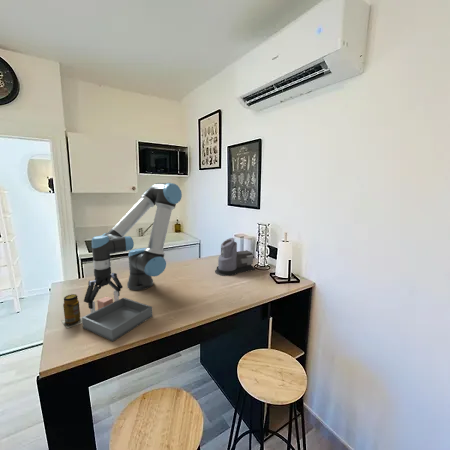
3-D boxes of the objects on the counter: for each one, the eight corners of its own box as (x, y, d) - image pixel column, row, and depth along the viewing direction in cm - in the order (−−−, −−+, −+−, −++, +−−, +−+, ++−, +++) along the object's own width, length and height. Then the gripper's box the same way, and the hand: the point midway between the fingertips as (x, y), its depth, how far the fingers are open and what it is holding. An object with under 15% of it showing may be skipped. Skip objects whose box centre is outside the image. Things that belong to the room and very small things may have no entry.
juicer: (220, 277, 166) (220, 242, 162) (211, 270, 180) (211, 237, 176) (257, 270, 179) (258, 238, 175) (246, 264, 193) (246, 234, 189)
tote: (82, 327, 107) (81, 317, 106) (124, 306, 126) (123, 297, 125) (112, 341, 98) (111, 330, 97) (152, 316, 116) (152, 306, 115)
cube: (98, 309, 123) (97, 300, 122) (106, 305, 127) (106, 296, 126) (104, 312, 120) (103, 302, 120) (113, 307, 125) (112, 298, 124)
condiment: (79, 315, 117) (76, 291, 115) (85, 322, 111) (82, 297, 109) (61, 321, 112) (58, 296, 110) (66, 328, 106) (63, 303, 104)
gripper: (82, 276, 108) (86, 321, 111) (128, 261, 129) (130, 299, 132) (72, 273, 111) (76, 317, 115) (118, 259, 133) (121, 296, 136)
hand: (105, 308), depth 124 cm, fingers open, 12 cm apart
